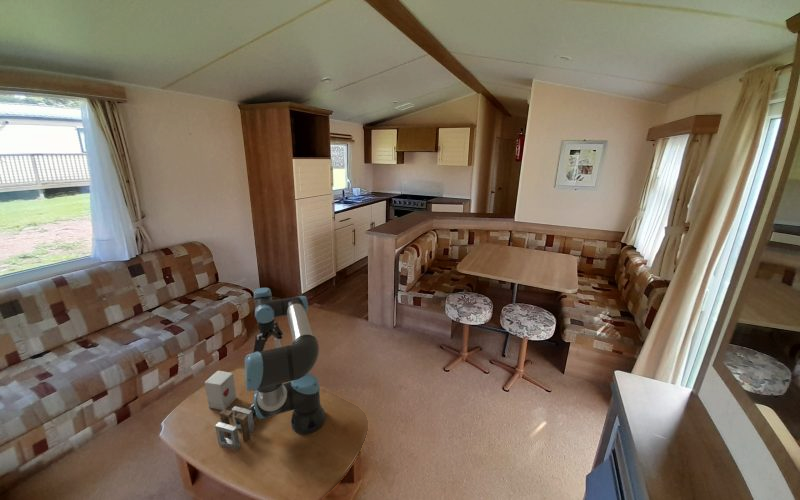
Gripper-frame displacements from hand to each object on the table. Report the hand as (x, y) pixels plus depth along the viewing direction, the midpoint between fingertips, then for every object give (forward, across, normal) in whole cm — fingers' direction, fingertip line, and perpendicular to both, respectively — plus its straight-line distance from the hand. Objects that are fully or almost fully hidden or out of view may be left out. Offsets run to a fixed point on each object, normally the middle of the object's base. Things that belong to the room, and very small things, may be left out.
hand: (270, 358), depth 157 cm
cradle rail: (+22, +12, 0) cm, 25 cm away
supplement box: (+22, +11, -21) cm, 32 cm away
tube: (+19, +13, 0) cm, 23 cm away
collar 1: (+22, +31, 0) cm, 38 cm away
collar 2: (+22, +22, 0) cm, 31 cm away
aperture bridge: (+22, +27, 0) cm, 34 cm away
